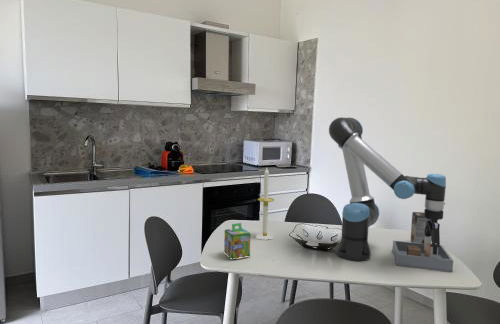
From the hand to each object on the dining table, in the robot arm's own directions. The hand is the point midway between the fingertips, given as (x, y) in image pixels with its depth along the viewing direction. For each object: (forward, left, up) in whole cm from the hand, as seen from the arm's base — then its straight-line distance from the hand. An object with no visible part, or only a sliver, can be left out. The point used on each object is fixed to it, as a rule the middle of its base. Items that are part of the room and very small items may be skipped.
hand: (430, 255), depth 166 cm
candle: (-78, +9, -3) cm, 79 cm away
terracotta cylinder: (0, 0, -2) cm, 2 cm away
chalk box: (-84, -21, -3) cm, 87 cm away
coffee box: (-1, +23, -3) cm, 23 cm away
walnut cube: (-7, 0, -2) cm, 7 cm away
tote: (-4, 0, -3) cm, 5 cm away
